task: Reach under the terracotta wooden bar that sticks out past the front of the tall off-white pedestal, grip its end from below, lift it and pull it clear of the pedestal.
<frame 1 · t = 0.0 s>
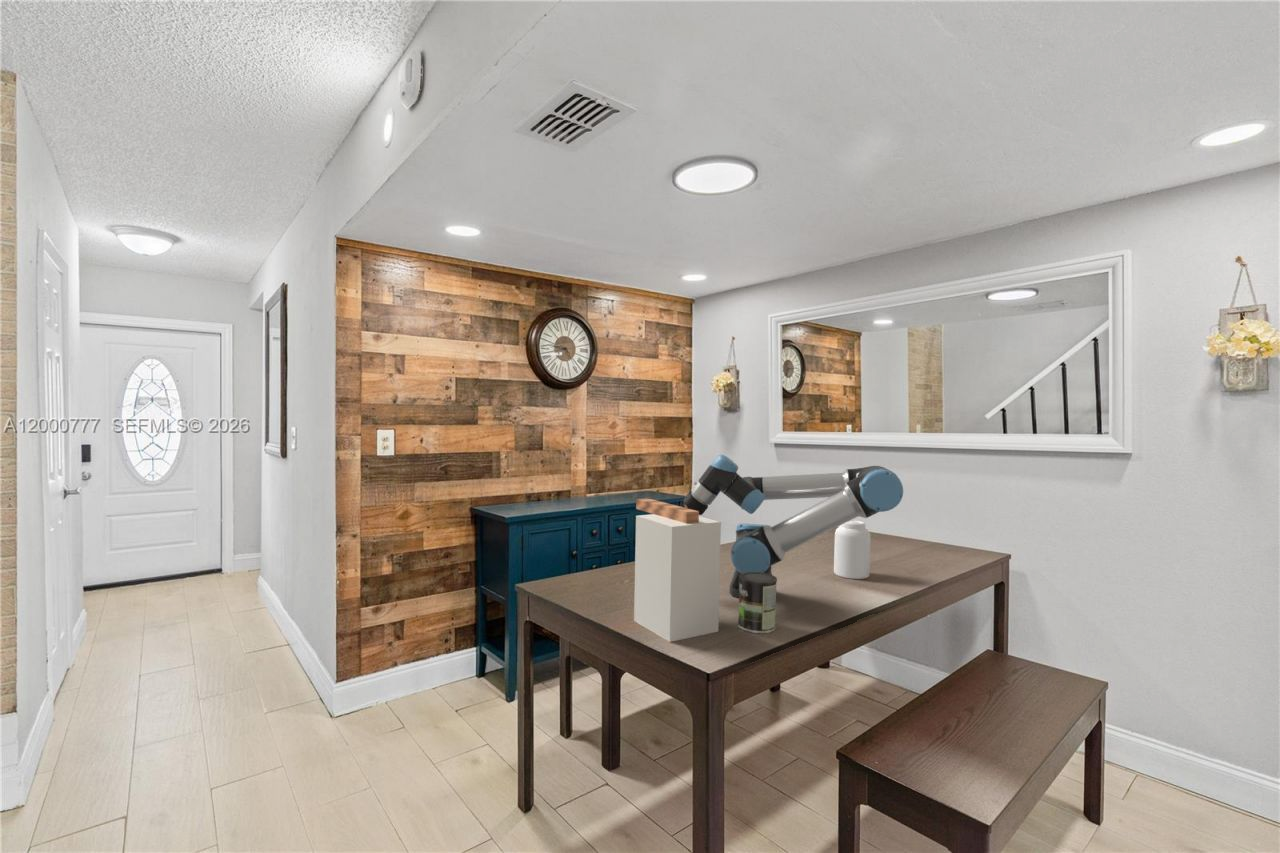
hand: (659, 550, 197), 15 cm above the table, tool tilted 35°, fingers open, 13 cm apart
bar: (665, 515, 176), point 30 cm above the table, touching pedestal
coffee can: (756, 627, 173), on the table
pedestal: (675, 626, 172), on the table
white jar: (851, 575, 230), on the table
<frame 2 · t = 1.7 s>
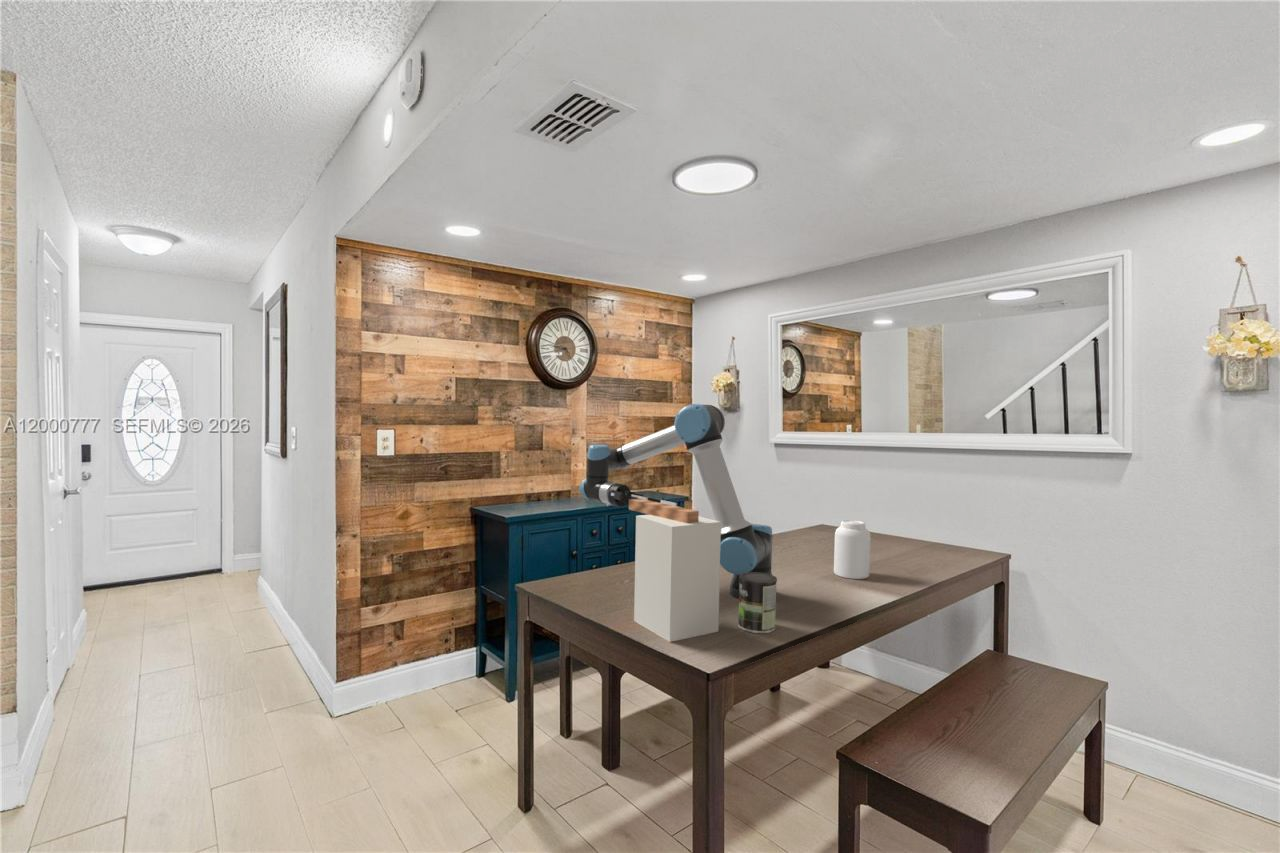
hand: (661, 504, 192), 30 cm above the table, tool horizontal, fingers open, 13 cm apart
bar: (661, 515, 176), point 30 cm above the table, touching pedestal
everything else where it was.
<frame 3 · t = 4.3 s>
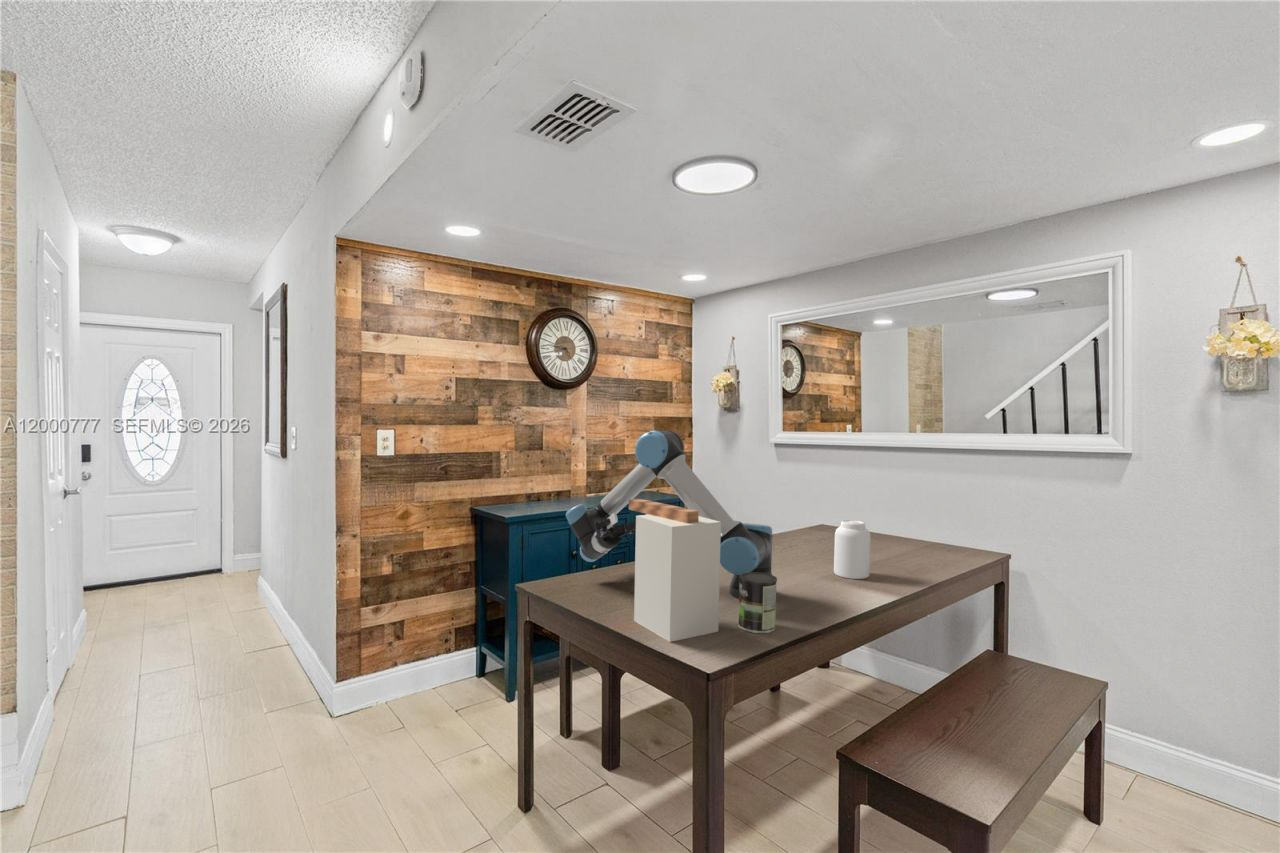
hand: (635, 515, 190), 28 cm above the table, tool pointing upward, fingers open, 13 cm apart
nothing on the table moved.
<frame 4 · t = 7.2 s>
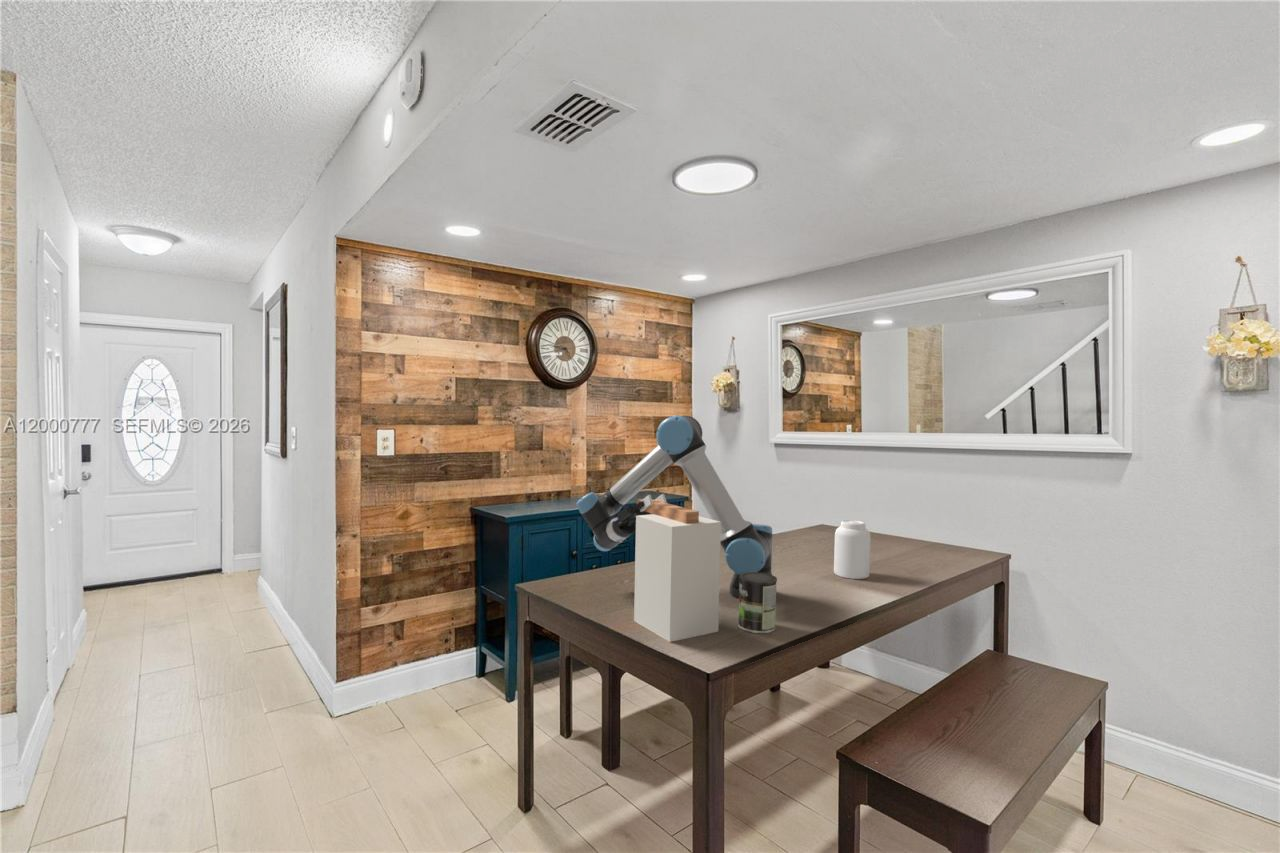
hand: (657, 498, 180), 34 cm above the table, tool pointing upward, fingers closed on bar, 4 cm apart
bar: (665, 515, 176), point 30 cm above the table, touching gripper, pedestal
everything else where it was.
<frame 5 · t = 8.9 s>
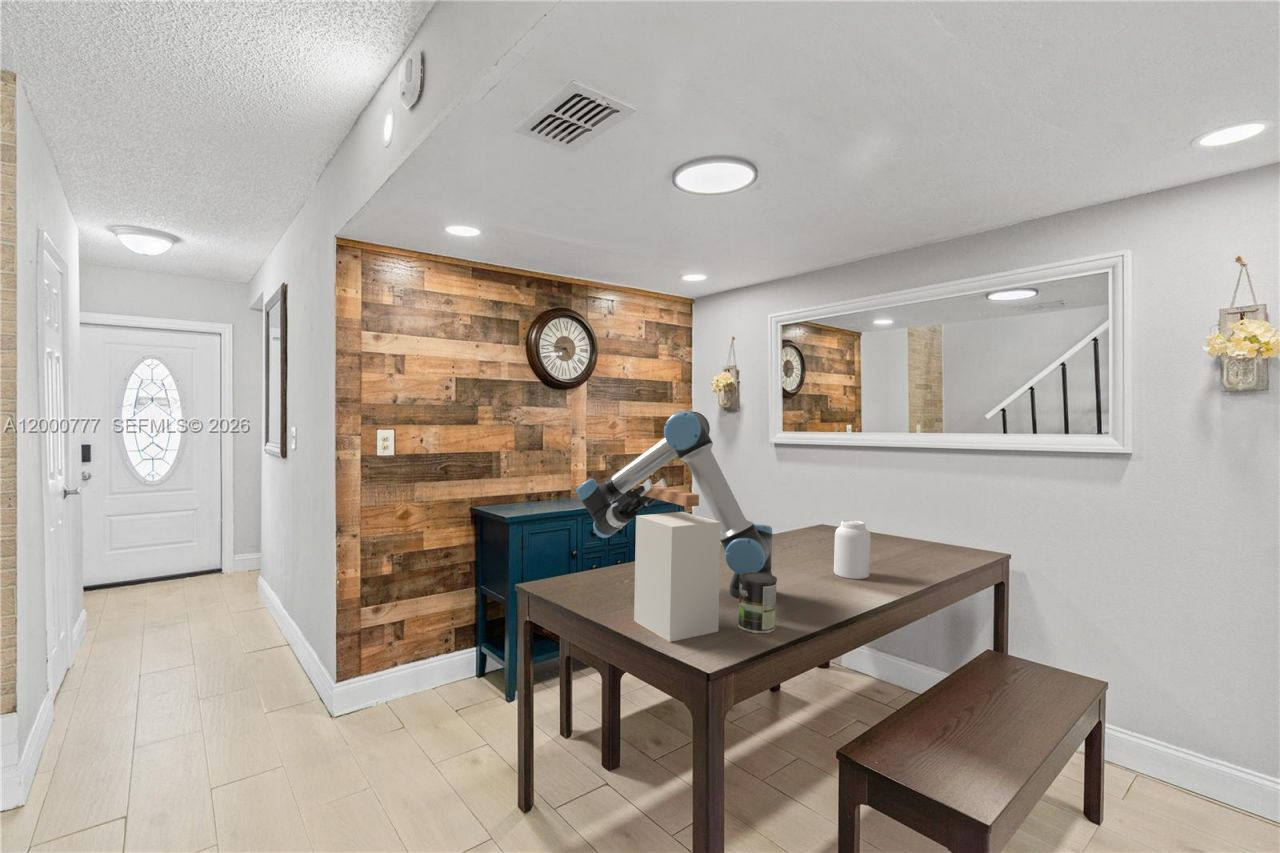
hand: (657, 483, 180), 39 cm above the table, tool pointing upward, fingers closed on bar, 4 cm apart
bar: (665, 499, 176), point 35 cm above the table, touching gripper
everything else where it was.
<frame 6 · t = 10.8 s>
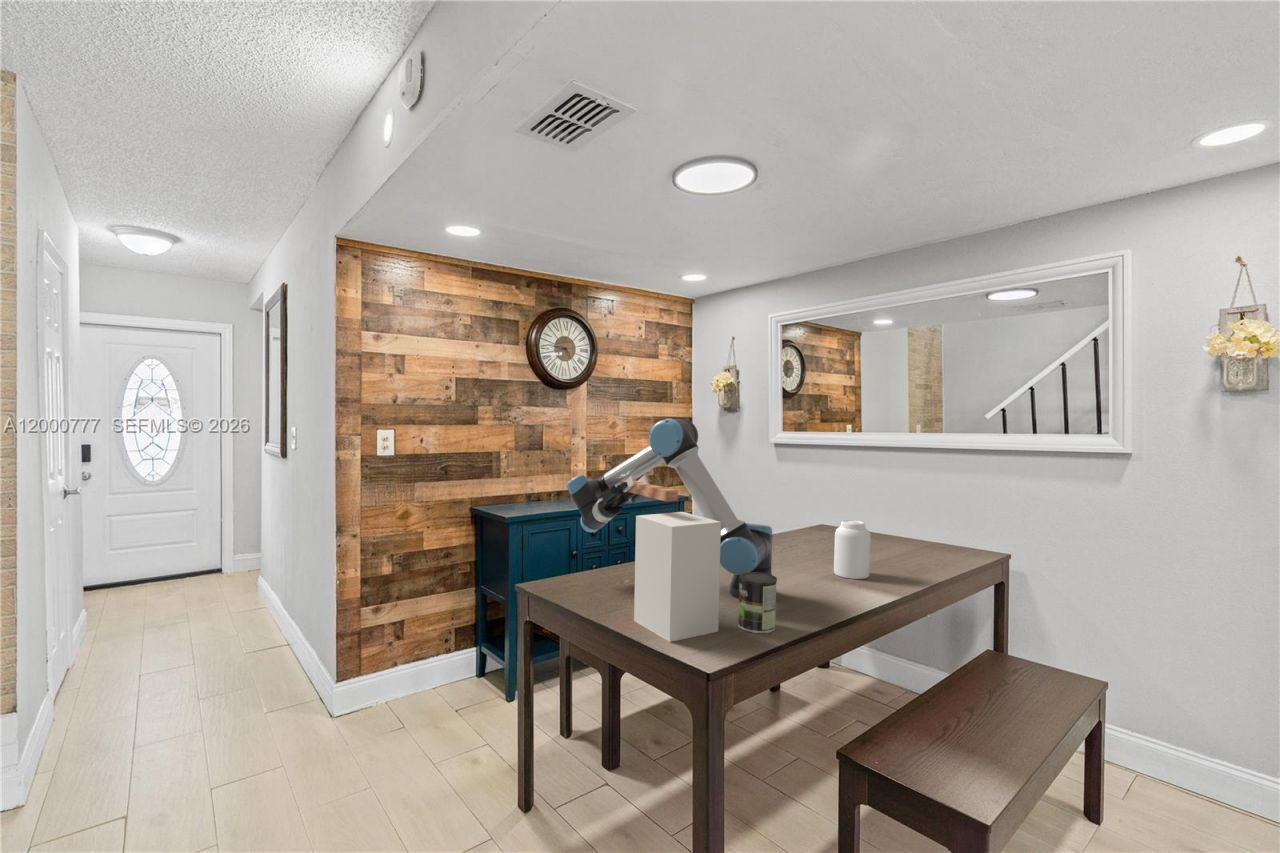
hand: (639, 479, 188), 39 cm above the table, tool pointing upward, fingers closed on bar, 4 cm apart
bar: (647, 494, 185), point 35 cm above the table, touching gripper
everything else where it was.
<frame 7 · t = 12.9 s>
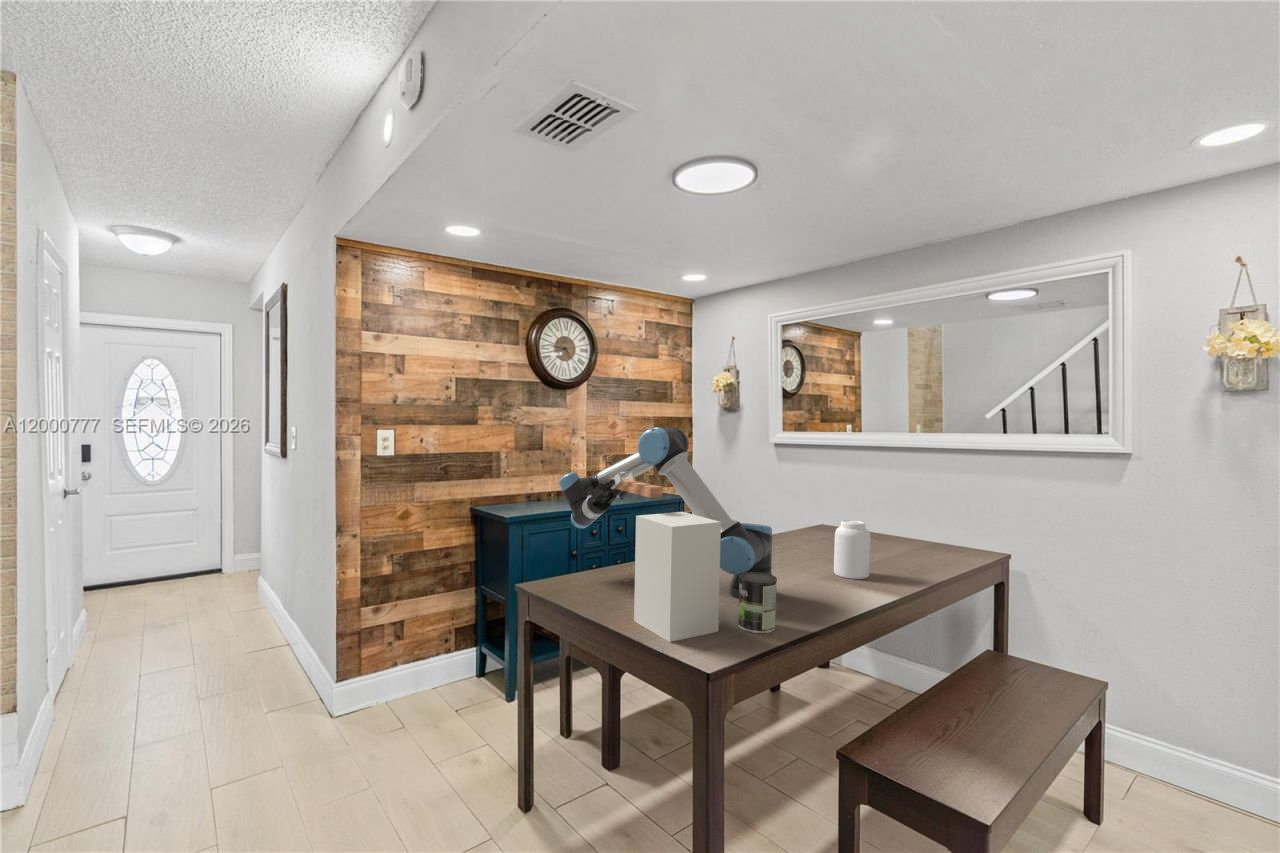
hand: (626, 476, 195), 39 cm above the table, tool pointing upward, fingers closed on bar, 4 cm apart
bar: (633, 491, 191), point 34 cm above the table, touching gripper
everything else where it was.
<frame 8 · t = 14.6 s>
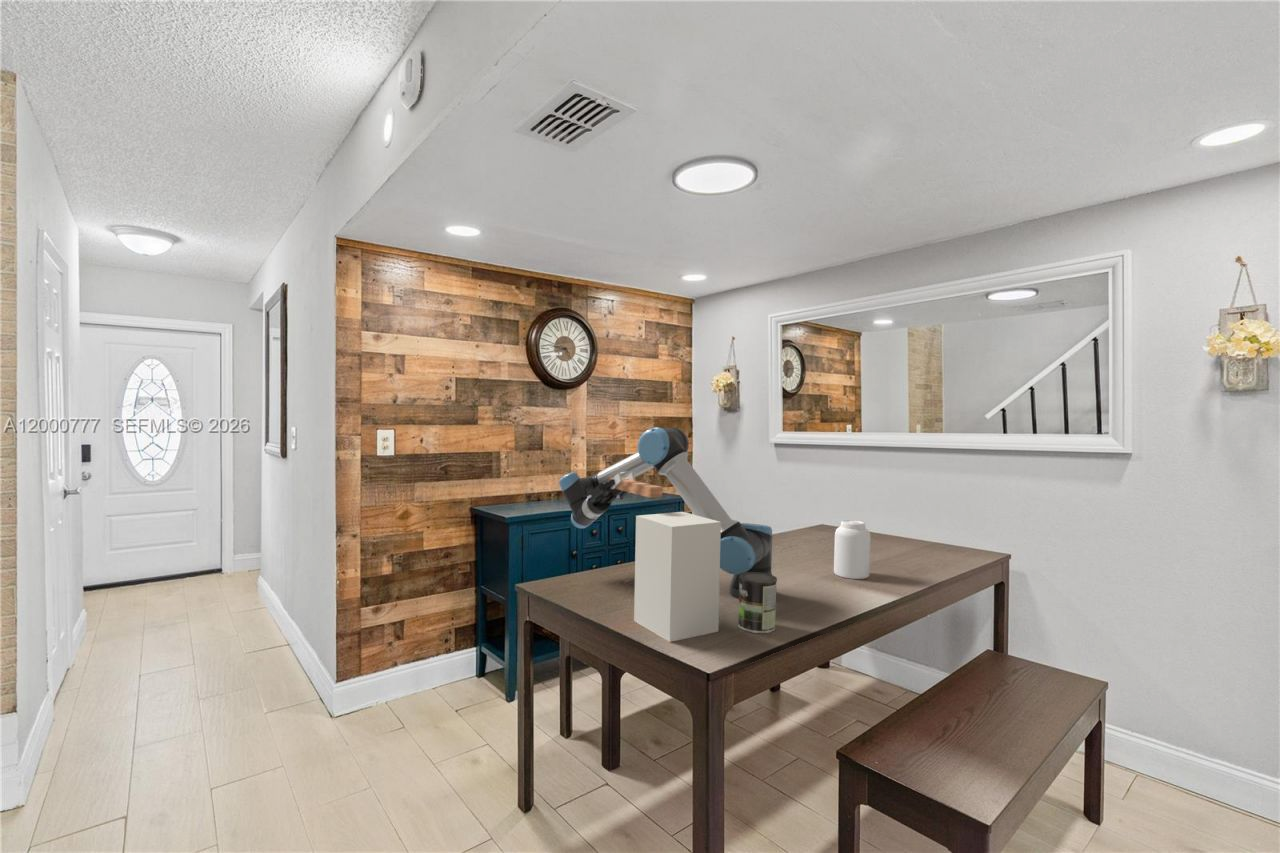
hand: (626, 476, 195), 39 cm above the table, tool pointing upward, fingers closed on bar, 4 cm apart
bar: (633, 491, 191), point 34 cm above the table, touching gripper
everything else where it was.
at the end: the gripper is holding bar; bar touching gripper; bar moved 18.4 cm from its start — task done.
